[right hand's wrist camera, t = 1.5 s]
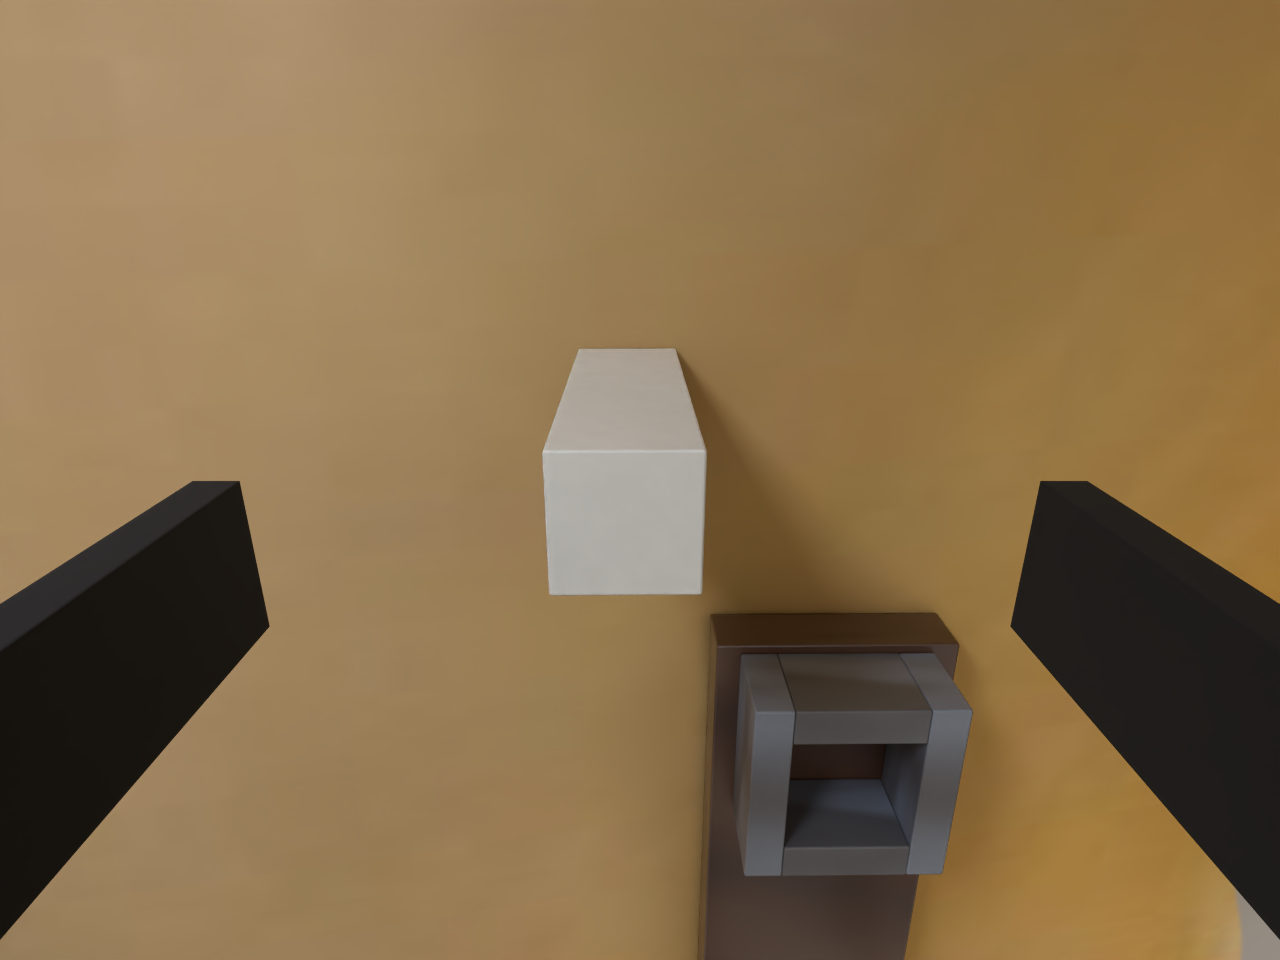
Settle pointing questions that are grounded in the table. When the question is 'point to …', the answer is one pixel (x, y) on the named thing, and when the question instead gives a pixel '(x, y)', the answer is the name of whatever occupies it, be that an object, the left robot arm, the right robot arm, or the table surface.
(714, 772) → the peg board
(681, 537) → the peg
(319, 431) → the table surface
